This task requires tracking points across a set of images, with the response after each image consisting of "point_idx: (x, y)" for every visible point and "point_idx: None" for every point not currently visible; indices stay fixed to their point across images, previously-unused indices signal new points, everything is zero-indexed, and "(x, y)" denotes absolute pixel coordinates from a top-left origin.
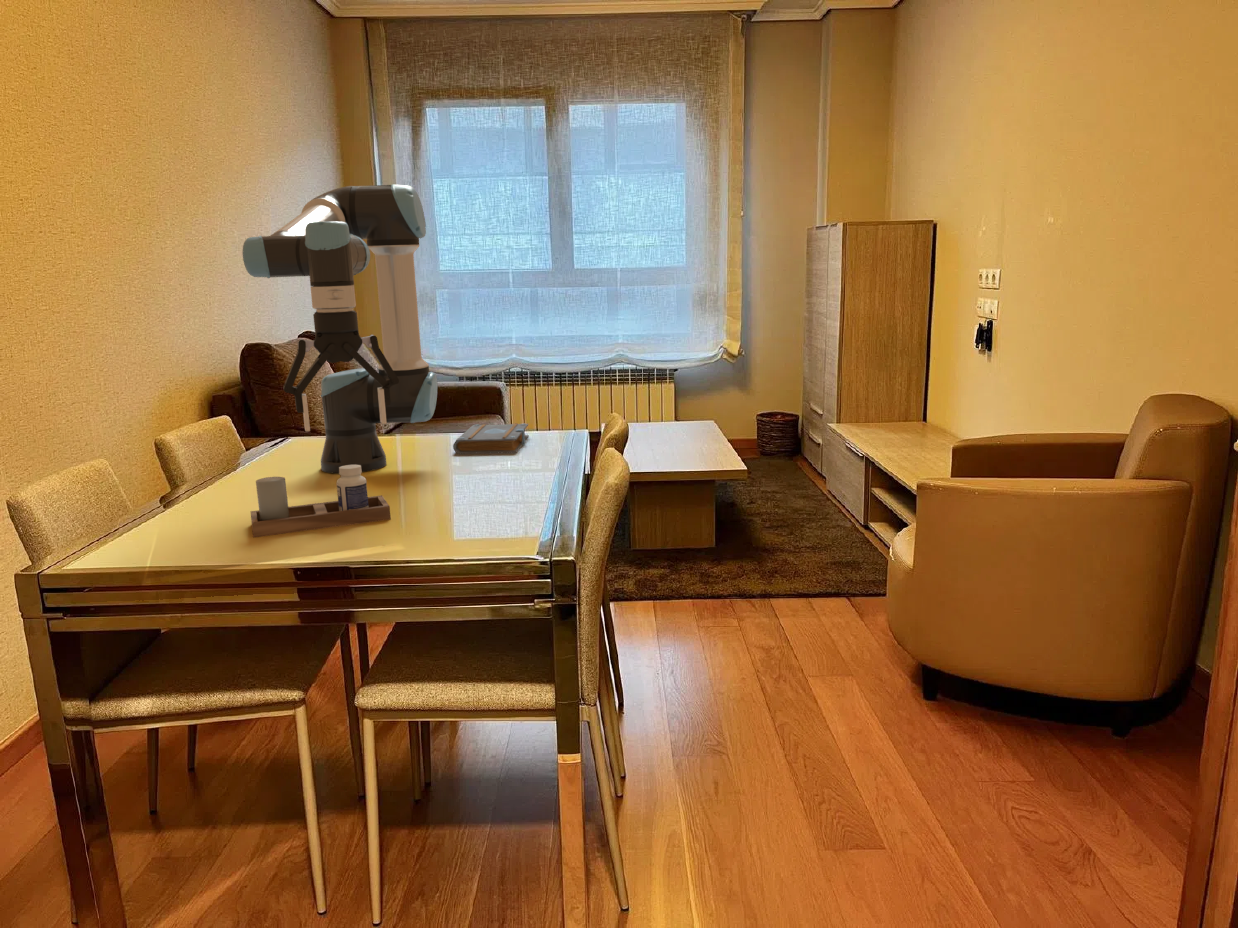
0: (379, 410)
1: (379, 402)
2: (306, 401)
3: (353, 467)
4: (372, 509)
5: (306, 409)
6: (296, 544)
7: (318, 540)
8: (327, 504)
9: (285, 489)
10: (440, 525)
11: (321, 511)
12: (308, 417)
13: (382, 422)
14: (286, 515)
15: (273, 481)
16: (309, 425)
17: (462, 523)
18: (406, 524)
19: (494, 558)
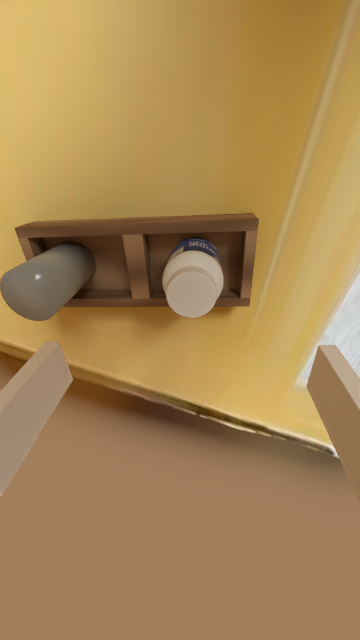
0: (338, 383)
1: (352, 435)
2: (8, 479)
3: (197, 310)
4: (220, 305)
5: (27, 444)
6: (115, 324)
7: (141, 320)
8: (148, 233)
9: (67, 296)
10: (306, 328)
11: (140, 287)
12: (49, 416)
13: (309, 390)
14: (86, 282)
15: (40, 312)
16: (64, 393)
17: (337, 332)
18: (265, 302)
19: (301, 440)
